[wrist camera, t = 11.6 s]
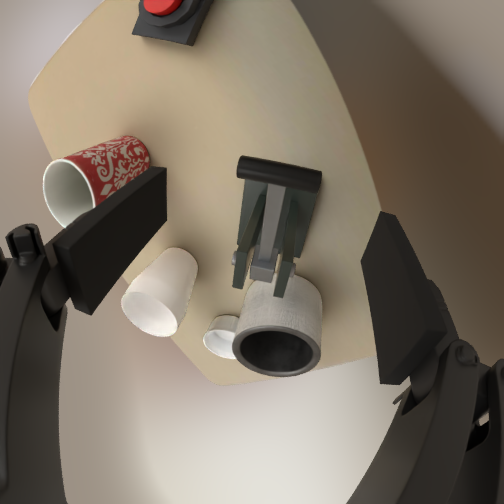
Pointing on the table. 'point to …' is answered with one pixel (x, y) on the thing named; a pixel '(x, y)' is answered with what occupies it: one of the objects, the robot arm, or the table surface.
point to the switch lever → (274, 204)
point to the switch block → (173, 22)
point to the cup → (161, 293)
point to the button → (161, 6)
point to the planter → (280, 328)
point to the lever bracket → (287, 236)
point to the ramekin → (221, 336)
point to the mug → (91, 176)
